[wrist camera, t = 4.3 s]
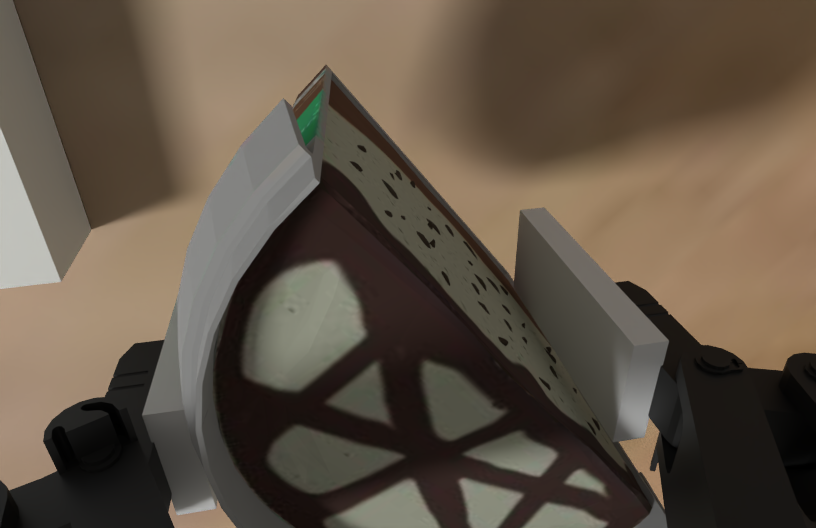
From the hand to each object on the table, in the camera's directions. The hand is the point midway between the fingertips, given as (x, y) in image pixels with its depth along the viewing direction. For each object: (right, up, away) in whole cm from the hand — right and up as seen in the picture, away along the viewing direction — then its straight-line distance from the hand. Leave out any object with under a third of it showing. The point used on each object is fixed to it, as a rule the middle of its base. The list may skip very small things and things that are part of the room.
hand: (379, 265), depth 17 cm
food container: (-1, +1, +2) cm, 2 cm away
